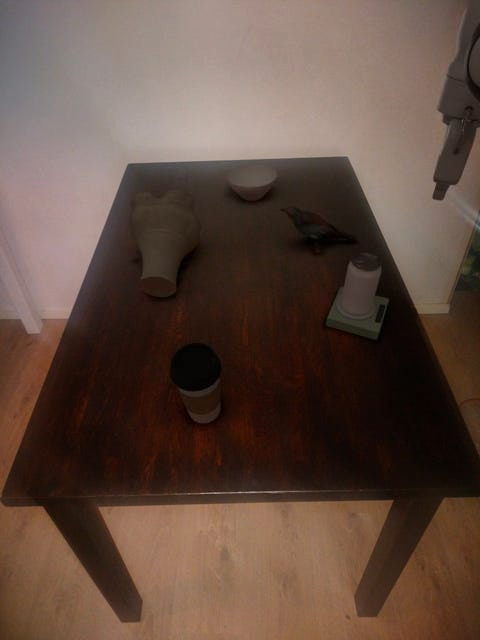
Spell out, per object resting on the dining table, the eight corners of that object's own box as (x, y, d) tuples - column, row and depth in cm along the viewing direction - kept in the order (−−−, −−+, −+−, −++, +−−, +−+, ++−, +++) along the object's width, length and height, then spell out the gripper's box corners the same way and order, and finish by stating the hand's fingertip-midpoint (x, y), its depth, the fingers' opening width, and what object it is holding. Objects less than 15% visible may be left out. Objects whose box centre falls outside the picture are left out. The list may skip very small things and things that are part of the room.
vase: (197, 276, 77) (207, 180, 91) (88, 266, 76) (114, 170, 89) (196, 326, 96) (204, 241, 110) (108, 319, 94) (128, 233, 108)
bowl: (222, 188, 129) (221, 167, 124) (267, 180, 132) (268, 160, 127) (235, 211, 119) (233, 190, 114) (283, 202, 121) (284, 181, 116)
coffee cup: (179, 430, 68) (163, 382, 57) (184, 390, 74) (170, 339, 63) (226, 429, 68) (219, 381, 57) (227, 389, 74) (221, 338, 63)
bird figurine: (351, 227, 108) (322, 172, 95) (362, 248, 102) (332, 192, 89) (309, 250, 113) (276, 202, 100) (317, 272, 106) (282, 223, 93)
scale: (386, 306, 87) (389, 296, 85) (376, 340, 80) (379, 330, 78) (339, 294, 91) (340, 284, 89) (325, 325, 84) (327, 315, 82)
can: (335, 299, 85) (343, 255, 76) (361, 292, 86) (372, 248, 78) (349, 319, 81) (359, 275, 72) (376, 311, 82) (390, 267, 73)
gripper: (493, 124, 49) (455, 218, 59) (496, 79, 62) (464, 163, 72) (441, 119, 51) (412, 211, 61) (453, 76, 64) (428, 159, 74)
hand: (440, 185), depth 67 cm, fingers open, 8 cm apart
